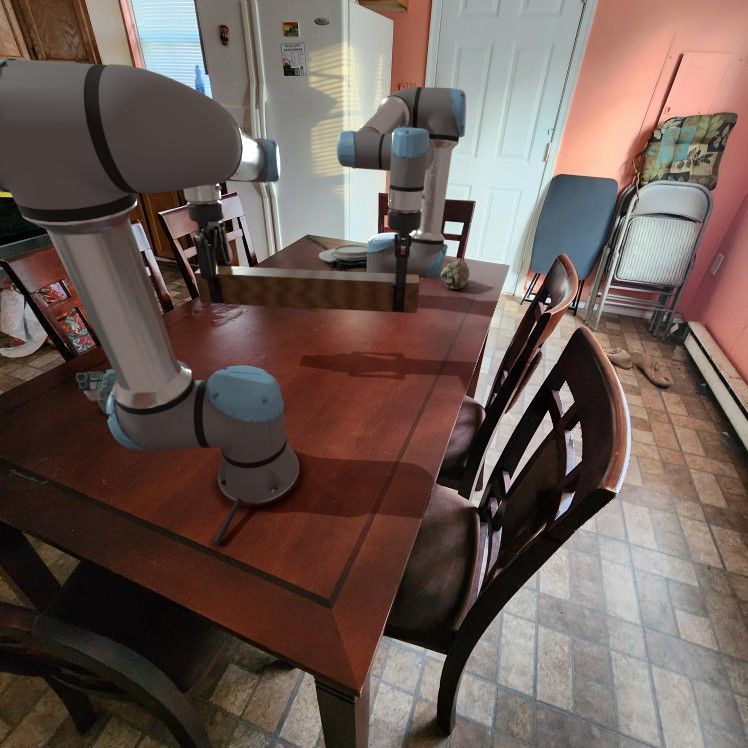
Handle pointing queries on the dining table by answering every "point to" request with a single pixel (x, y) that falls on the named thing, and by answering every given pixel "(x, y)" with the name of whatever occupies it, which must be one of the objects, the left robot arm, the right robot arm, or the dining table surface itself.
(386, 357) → the dining table surface
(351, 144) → the right robot arm
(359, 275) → the bar
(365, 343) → the dining table surface
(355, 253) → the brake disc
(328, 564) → the dining table surface
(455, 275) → the grey lumpy rounded piece
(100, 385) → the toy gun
